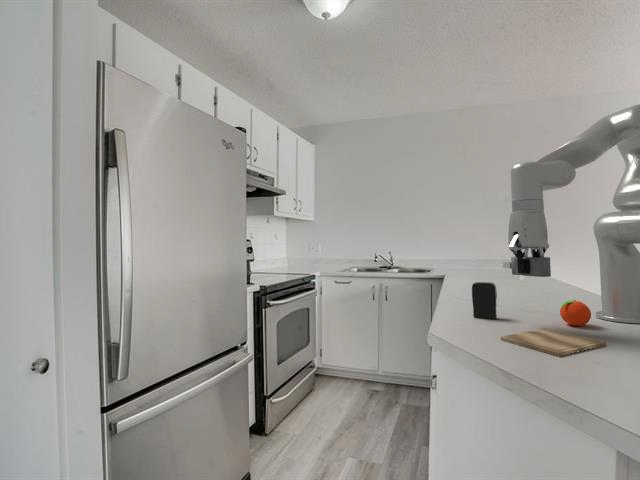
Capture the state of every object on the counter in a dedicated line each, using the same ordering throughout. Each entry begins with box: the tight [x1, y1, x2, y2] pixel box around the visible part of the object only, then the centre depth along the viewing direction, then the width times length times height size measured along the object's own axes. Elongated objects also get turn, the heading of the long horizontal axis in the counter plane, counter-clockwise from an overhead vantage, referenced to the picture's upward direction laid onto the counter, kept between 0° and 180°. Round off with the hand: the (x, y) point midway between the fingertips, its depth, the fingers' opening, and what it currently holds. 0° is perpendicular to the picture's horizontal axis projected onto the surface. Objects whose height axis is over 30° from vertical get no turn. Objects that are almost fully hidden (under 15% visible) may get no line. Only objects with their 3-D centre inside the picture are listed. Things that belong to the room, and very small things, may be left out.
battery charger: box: [471, 281, 498, 320], centre depth 106 cm, size 7×4×11 cm, turn 53°
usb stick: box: [502, 256, 552, 278], centre depth 93 cm, size 13×4×5 cm, turn 20°
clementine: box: [559, 299, 592, 327], centre depth 92 cm, size 8×7×7 cm
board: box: [500, 327, 607, 357], centre depth 79 cm, size 16×14×1 cm
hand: (530, 272), depth 92 cm, fingers closed on usb stick, 4 cm apart
